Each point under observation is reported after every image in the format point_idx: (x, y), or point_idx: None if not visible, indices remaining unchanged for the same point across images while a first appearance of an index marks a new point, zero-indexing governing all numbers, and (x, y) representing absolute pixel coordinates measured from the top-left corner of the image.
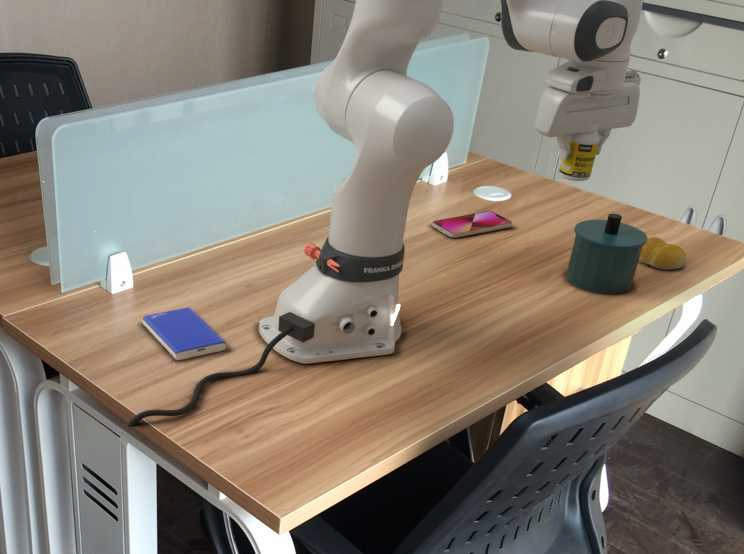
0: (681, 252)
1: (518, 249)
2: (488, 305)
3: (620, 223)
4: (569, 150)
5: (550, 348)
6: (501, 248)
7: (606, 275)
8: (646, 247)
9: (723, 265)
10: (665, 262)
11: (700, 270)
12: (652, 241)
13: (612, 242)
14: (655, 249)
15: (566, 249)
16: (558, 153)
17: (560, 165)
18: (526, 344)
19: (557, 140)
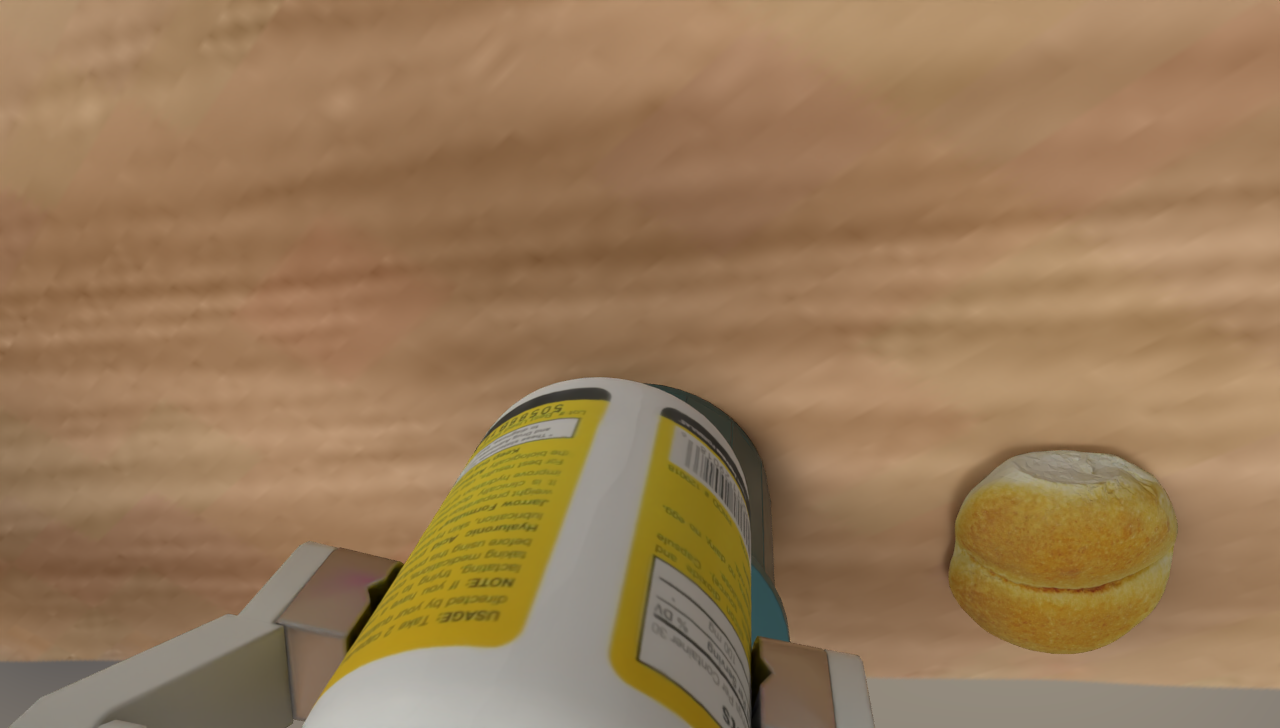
0: (1061, 652)
1: (606, 89)
2: (131, 390)
3: (767, 618)
4: (297, 712)
5: (163, 629)
6: (535, 27)
7: None
8: (996, 546)
9: (1225, 684)
10: (964, 610)
11: (1090, 655)
12: (1046, 564)
13: None
14: (1007, 577)
15: (825, 228)
16: (284, 563)
17: (482, 447)
18: (112, 586)
19: (99, 676)
